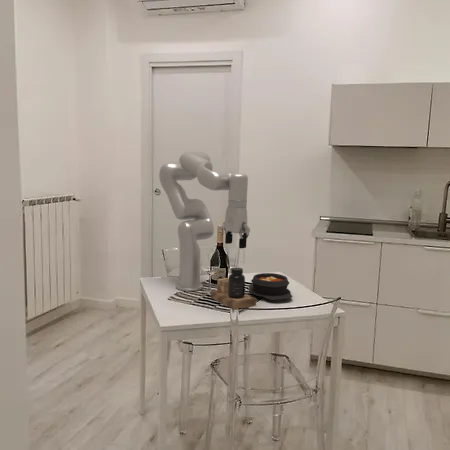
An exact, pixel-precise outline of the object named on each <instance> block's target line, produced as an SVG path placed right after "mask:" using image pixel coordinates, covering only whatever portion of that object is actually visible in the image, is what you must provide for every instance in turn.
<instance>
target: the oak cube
mask: <svg viewBox="0 0 450 450" xmlns="http://www.w3.org/2000/svg"><path fill="white" fill-rule="evenodd" d="M228 282H229V277H226V278H225V277H224V278H218V279H217V283H216V284H217V285H216V286H217V288H216V290H217V291H219V292H222V293H228Z"/></svg>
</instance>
